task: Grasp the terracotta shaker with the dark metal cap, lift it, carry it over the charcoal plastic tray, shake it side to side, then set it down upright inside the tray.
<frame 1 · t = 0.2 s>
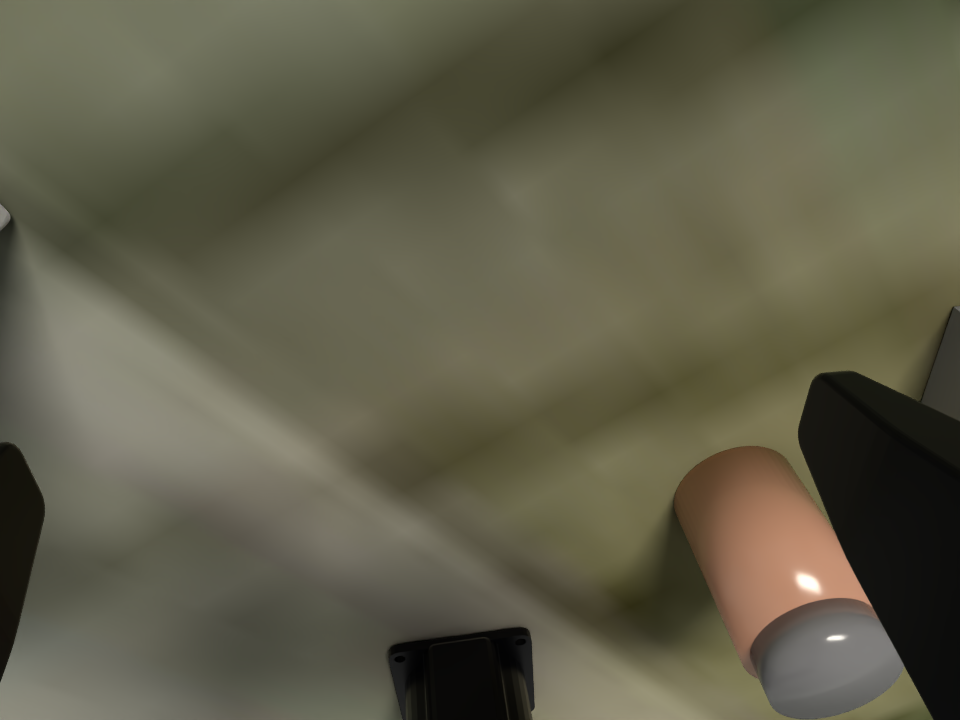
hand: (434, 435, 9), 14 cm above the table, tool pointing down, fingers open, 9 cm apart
shaker: (733, 492, 31), on the table
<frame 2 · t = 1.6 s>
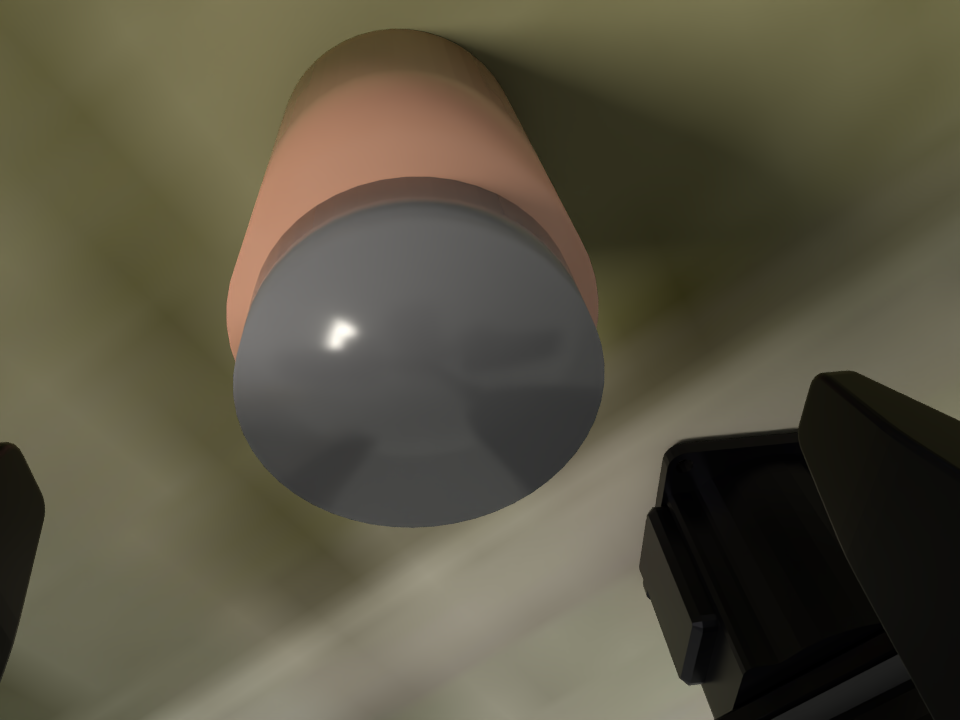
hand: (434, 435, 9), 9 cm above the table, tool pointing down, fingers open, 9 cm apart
shaker: (401, 155, 16), on the table
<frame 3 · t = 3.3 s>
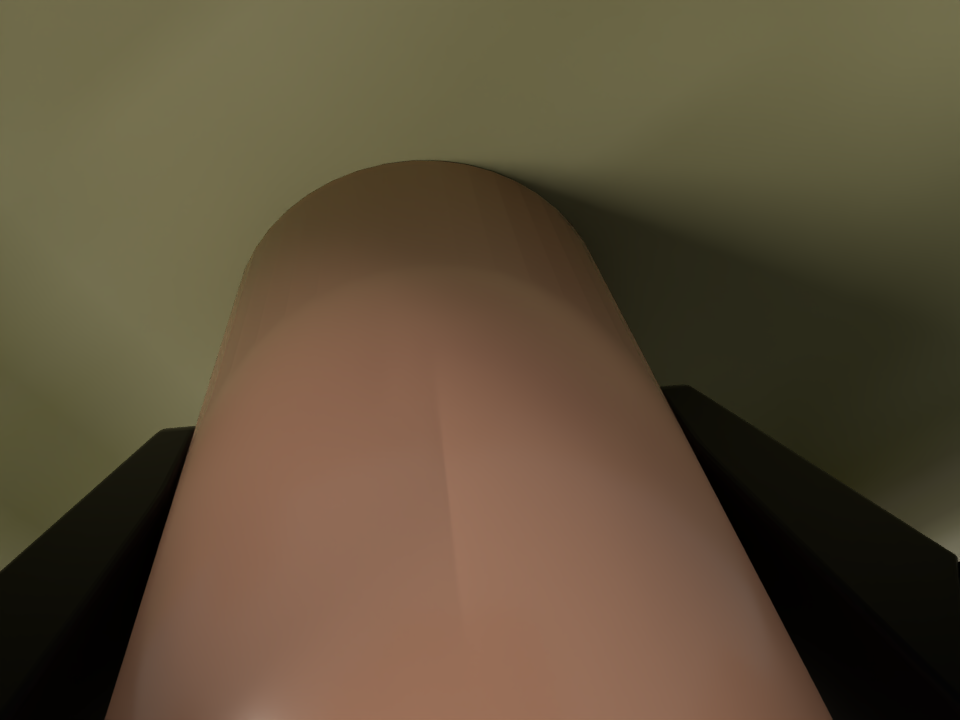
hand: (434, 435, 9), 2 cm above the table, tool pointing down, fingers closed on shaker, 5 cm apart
shaker: (424, 338, 10), on the table, touching gripper
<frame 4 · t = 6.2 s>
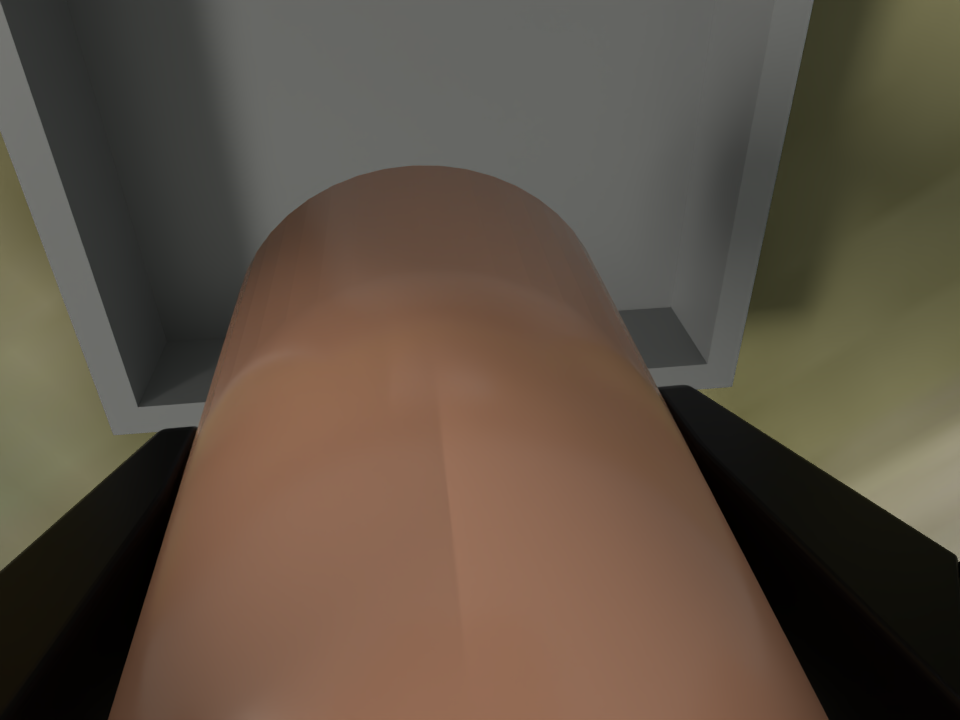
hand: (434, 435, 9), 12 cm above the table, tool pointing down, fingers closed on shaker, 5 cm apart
shaker: (425, 342, 10), point 10 cm above the table, touching gripper
tray: (407, 53, 18), on the table
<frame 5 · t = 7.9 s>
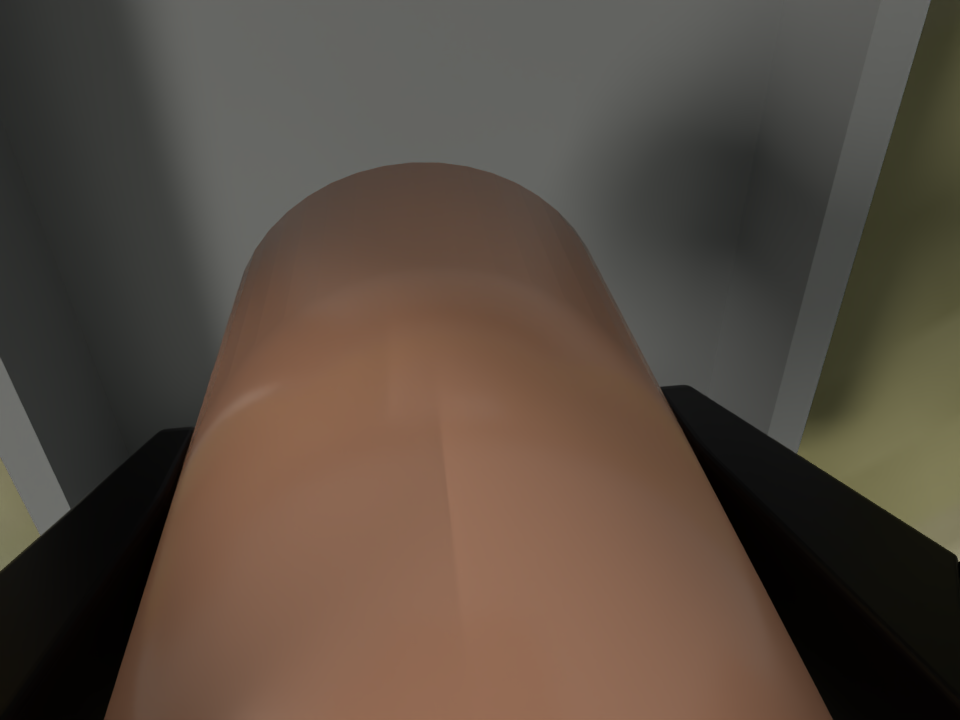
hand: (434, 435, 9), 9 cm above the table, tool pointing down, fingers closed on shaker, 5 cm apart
shaker: (424, 341, 10), point 7 cm above the table, touching gripper
tray: (406, 165, 16), on the table
when the fingers open (4 cm above the table, at t = 9.1 s): shaker stays where it is, resting on tray.
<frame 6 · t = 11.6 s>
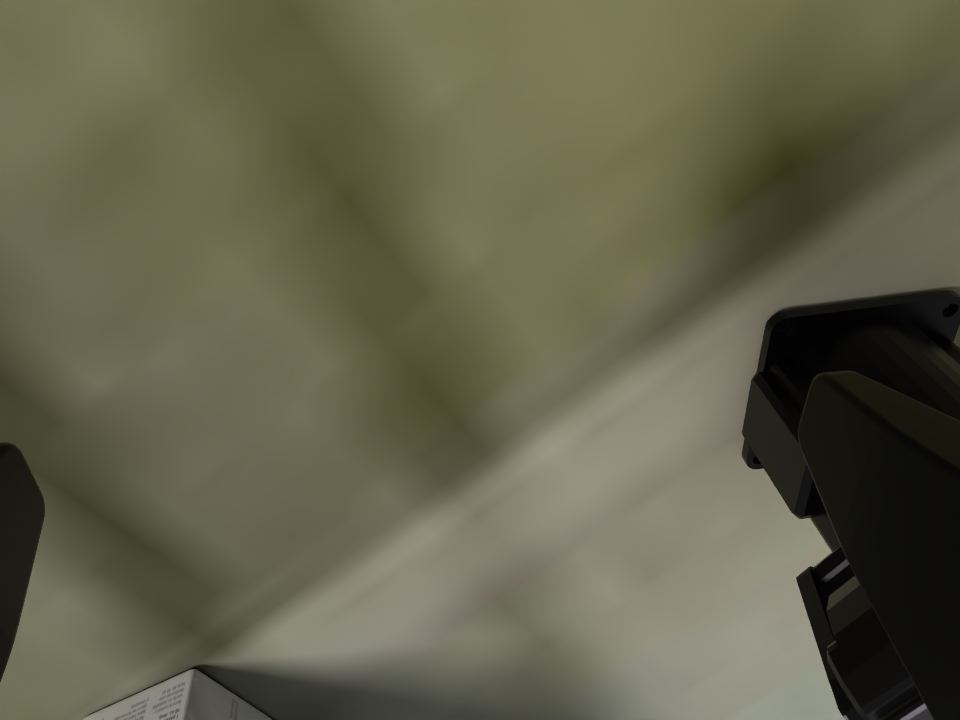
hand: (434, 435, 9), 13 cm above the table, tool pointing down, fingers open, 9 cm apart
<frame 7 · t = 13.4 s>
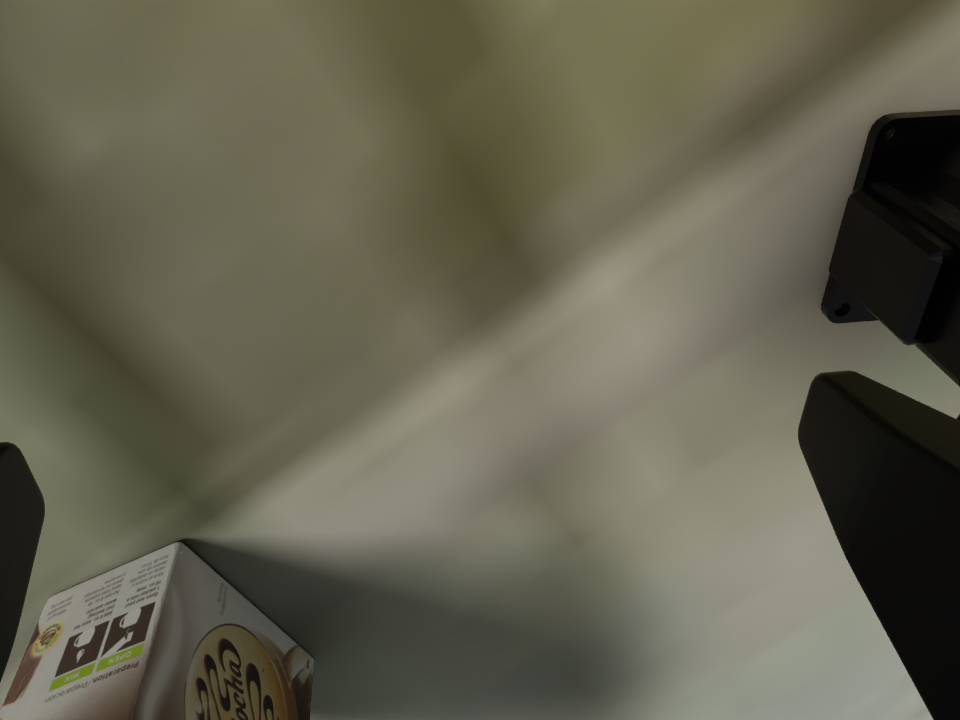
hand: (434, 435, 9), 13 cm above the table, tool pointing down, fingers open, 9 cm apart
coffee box: (191, 627, 30), on the table
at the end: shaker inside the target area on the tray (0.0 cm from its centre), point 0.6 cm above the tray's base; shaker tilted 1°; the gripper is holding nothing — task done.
